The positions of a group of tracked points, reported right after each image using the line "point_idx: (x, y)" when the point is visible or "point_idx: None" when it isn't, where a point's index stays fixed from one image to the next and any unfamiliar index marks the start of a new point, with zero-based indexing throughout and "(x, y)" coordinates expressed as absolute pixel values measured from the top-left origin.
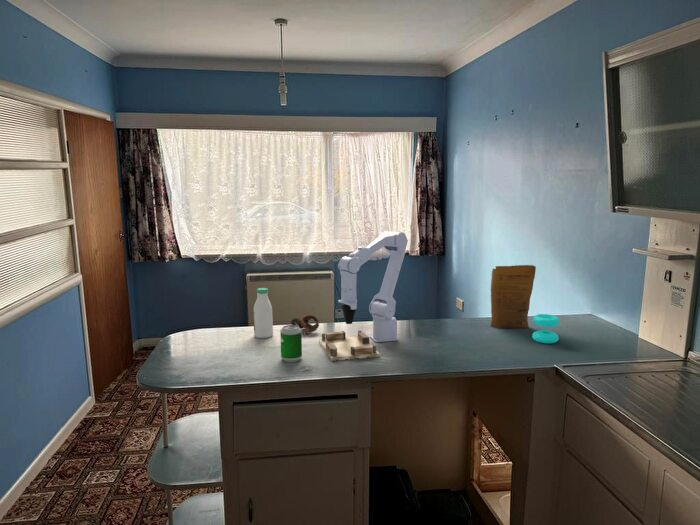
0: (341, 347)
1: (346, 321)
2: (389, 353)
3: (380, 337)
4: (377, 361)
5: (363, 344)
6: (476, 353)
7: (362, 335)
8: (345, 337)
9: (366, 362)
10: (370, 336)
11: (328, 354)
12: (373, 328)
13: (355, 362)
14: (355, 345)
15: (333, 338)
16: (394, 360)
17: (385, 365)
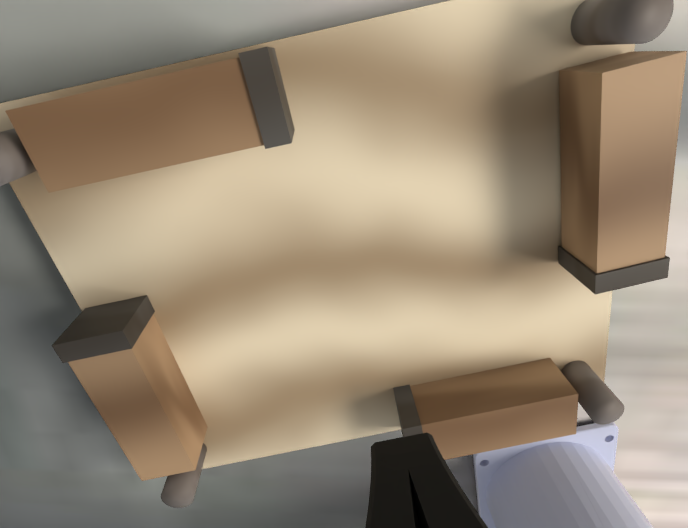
0: (313, 220)
1: (373, 483)
2: (248, 500)
3: (499, 496)
4: (79, 440)
5: (382, 390)
6: None
7: (479, 425)
8: (566, 269)
9: (40, 381)
10: (594, 429)
11: (120, 76)
12: (589, 515)
13: (19, 311)
14: (362, 336)
15: (567, 148)
16: (119, 516)
17: (12, 476)
